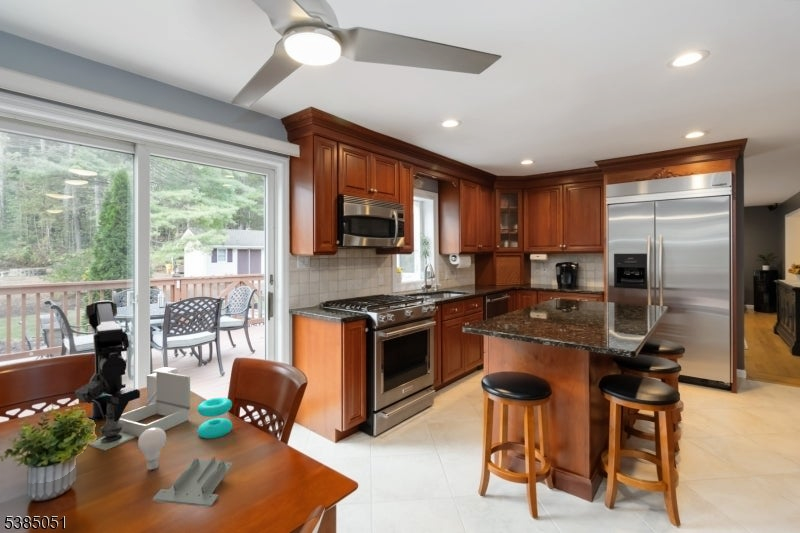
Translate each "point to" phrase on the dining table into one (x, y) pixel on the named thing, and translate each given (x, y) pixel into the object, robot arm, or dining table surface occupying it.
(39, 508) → the dining table surface
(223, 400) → the donuts
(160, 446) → the lightbulb
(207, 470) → the metal bracket
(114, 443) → the coaster
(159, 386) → the case
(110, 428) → the dark grey chess piece
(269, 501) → the dining table surface
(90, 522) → the dining table surface
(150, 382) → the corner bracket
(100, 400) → the robot arm
